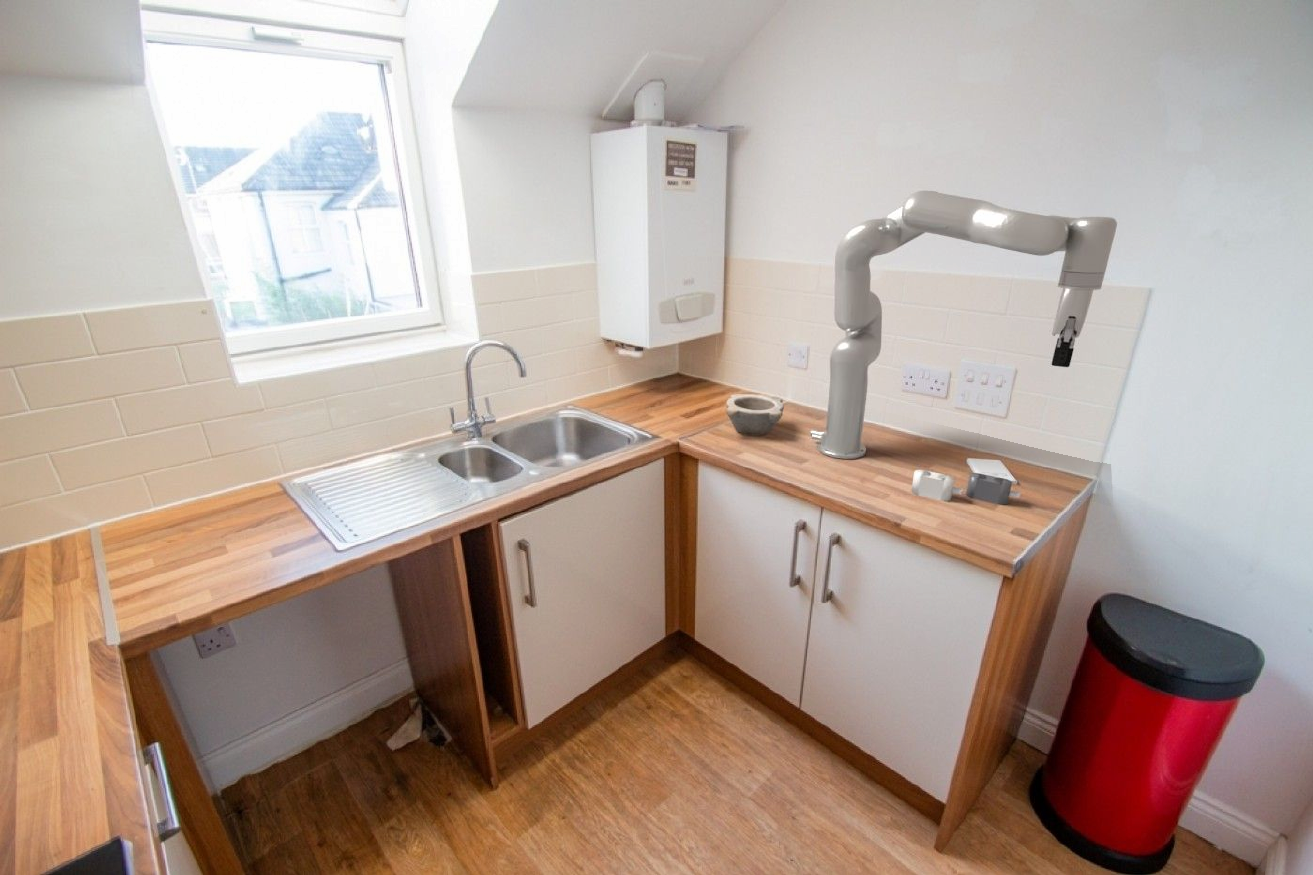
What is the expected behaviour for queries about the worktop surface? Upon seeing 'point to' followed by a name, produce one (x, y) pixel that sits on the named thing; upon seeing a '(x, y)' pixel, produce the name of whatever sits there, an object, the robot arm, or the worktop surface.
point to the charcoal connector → (990, 489)
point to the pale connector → (934, 485)
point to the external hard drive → (991, 468)
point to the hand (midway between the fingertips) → (1061, 361)
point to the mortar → (754, 413)
